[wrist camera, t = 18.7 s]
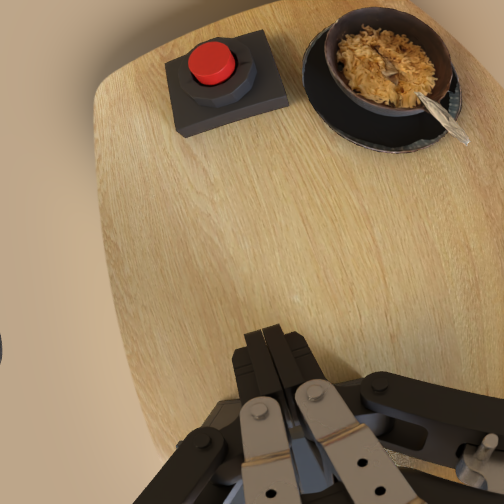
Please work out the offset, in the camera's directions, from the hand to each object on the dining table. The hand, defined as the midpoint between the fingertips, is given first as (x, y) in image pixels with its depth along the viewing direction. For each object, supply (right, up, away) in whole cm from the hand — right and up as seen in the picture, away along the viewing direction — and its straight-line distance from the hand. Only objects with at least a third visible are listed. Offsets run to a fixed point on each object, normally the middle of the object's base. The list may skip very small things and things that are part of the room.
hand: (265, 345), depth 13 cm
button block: (-3, +20, +15) cm, 25 cm away
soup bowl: (+11, +19, +12) cm, 25 cm away
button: (-4, +19, +11) cm, 23 cm away
